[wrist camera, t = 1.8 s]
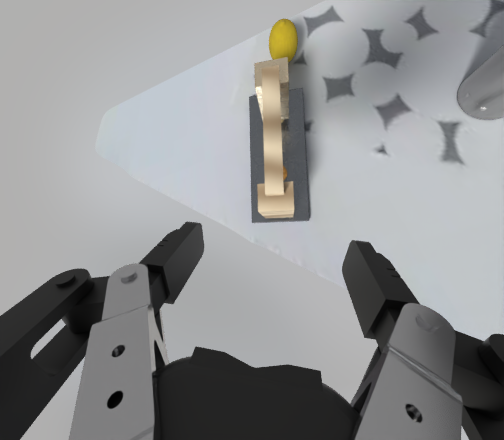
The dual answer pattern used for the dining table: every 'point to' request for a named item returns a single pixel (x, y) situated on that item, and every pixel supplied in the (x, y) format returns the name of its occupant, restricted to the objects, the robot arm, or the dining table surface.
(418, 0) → the dining table surface
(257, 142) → the bolt plate
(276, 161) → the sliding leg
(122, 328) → the robot arm
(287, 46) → the lemon
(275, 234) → the dining table surface
